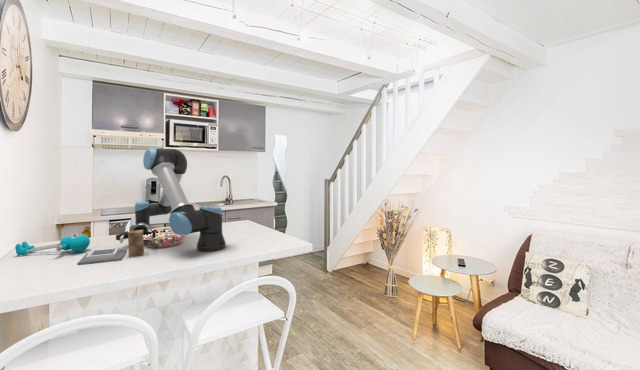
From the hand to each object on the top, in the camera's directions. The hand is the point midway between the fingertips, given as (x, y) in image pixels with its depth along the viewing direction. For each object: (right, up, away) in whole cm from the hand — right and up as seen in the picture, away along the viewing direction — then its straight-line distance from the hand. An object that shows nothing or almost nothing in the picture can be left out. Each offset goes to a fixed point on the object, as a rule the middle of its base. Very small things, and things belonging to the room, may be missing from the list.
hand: (136, 239), depth 158 cm
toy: (-40, -7, -2) cm, 41 cm away
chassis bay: (-10, -7, -9) cm, 16 cm away
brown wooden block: (+2, -7, -3) cm, 8 cm away
